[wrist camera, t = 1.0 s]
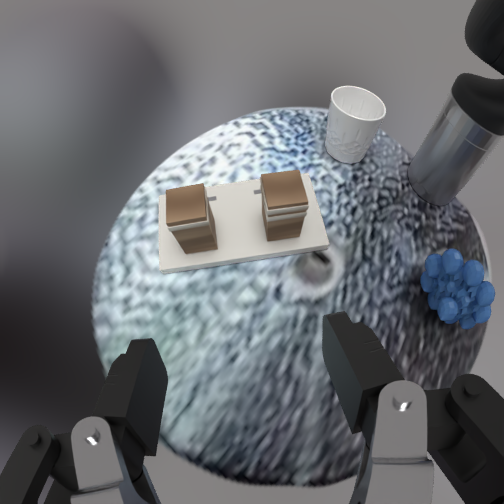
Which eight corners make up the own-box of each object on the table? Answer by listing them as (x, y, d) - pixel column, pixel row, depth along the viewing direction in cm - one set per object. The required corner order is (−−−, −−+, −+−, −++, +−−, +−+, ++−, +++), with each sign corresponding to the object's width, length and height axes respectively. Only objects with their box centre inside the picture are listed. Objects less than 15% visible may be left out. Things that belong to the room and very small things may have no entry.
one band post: (218, 249, 35) (206, 217, 27) (184, 255, 35) (165, 224, 27) (215, 219, 36) (204, 182, 29) (183, 224, 36) (165, 189, 29)
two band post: (300, 237, 35) (309, 202, 28) (266, 242, 35) (267, 208, 27) (293, 207, 37) (299, 169, 29) (260, 212, 36) (260, 173, 29)
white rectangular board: (327, 249, 36) (329, 244, 35) (163, 274, 36) (159, 270, 34) (307, 179, 40) (308, 172, 39) (162, 201, 40) (158, 195, 38)
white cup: (311, 141, 43) (319, 93, 34) (345, 126, 45) (357, 81, 35) (344, 174, 41) (360, 127, 31) (377, 156, 42) (396, 111, 33)
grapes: (386, 298, 33) (435, 265, 22) (413, 262, 35) (460, 221, 24) (442, 355, 30) (501, 344, 19) (464, 317, 31) (521, 294, 20)
